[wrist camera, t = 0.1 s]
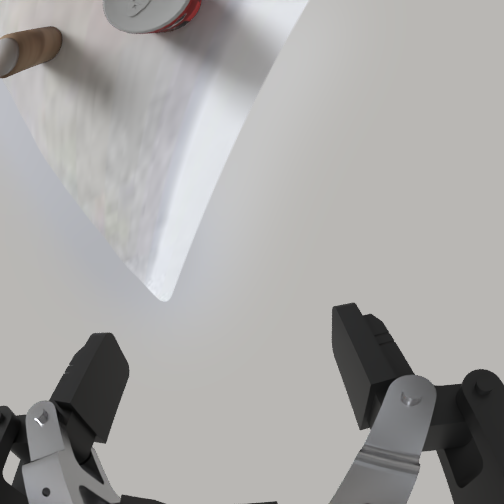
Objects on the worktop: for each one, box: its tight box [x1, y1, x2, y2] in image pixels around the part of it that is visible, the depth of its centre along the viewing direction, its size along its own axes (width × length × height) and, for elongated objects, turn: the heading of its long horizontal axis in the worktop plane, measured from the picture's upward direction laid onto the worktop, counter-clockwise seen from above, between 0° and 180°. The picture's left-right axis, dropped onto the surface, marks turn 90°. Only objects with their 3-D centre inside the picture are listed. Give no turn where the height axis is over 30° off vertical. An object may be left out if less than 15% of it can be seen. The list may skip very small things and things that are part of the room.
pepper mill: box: [0, 26, 62, 78], centre depth 18 cm, size 5×5×10 cm
